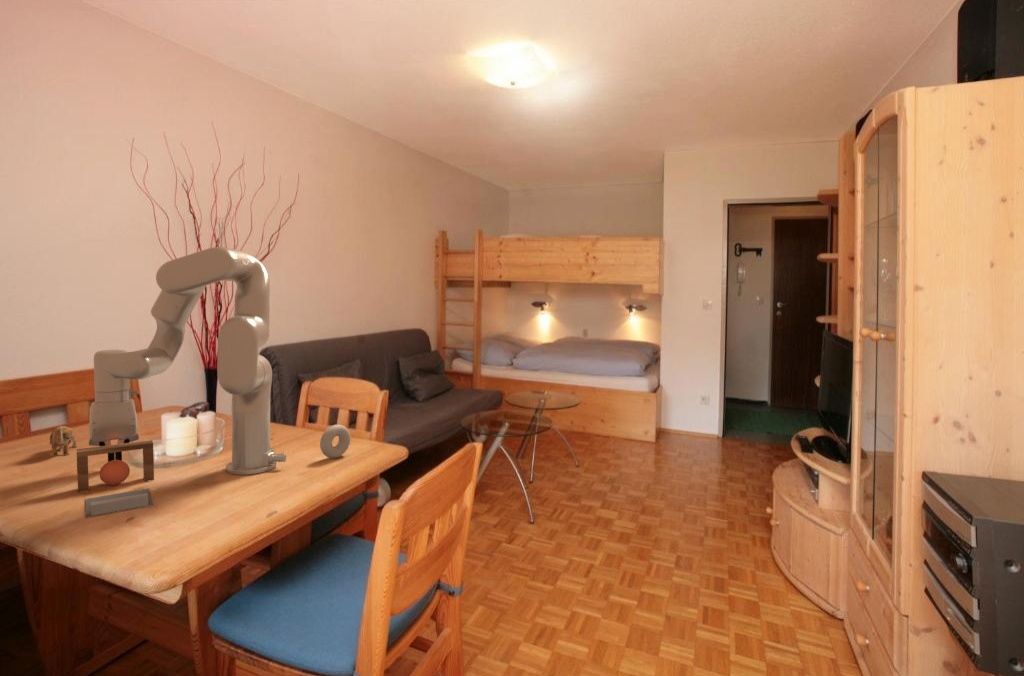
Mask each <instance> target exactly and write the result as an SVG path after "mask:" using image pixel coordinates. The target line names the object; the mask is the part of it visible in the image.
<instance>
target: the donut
mask: <svg viewBox="0 0 1024 676" xmlns="http://www.w3.org/2000/svg"><path fill="white" fill-rule="evenodd" d="M335 437H338V441H337V444H336V445H335V446H333V440H334V439H335ZM319 441H320V443H319V446H320V447H319V448H320V450H321V452H322V454H323V455H324V456H325V457H327V458H330V459H336V457H337V458H339V457H341V456H342V455H344V454H345V453H346V452H347V450H348V449H349V447H350V443H351V434H350V431H349V429H348V428H347V427H346V426H344V425H342V424H333V425H330V426H328V428H326V429H325V430H324V432H323V433H322V435H321V437H320V440H319Z"/></svg>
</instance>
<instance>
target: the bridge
mask: <svg viewBox="0 0 1024 676" xmlns="http://www.w3.org/2000/svg"><path fill="white" fill-rule="evenodd" d="M136 450H142V465H143V466H142V467H143V470H142V472H143V481H144V482H149V481H148V480H151V481H154V480H155V469H154V468H155V467H154V466H155V464H154V463H155V461H154V460H155V459H154V441H153V439H149V440H142V441H132V442H129V443H124V444H111V445H107V446H92V447H84V448H76V474H77V492H78V493H80V492H88V491H90V490H89V489H90V483H89V481H90V480H89V479H90V478H89V457H90V456H98V455H106V454H108V453H114V452H122V453H123V452H129V451H136Z"/></svg>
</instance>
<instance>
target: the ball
mask: <svg viewBox="0 0 1024 676" xmlns="http://www.w3.org/2000/svg"><path fill="white" fill-rule="evenodd" d="M130 470H131V469H130V466H129V464H128V463H127V462H126V461H124V460H122V461H121V460H112V461H109V462H108V461H107V462H106V463H105V464H103V466H101V468H100V470H99V478H100V480H101V481H102V482H103V483H104V484H106V485H110V486H113V485H114V486H115V485H119V484H122V483H124V481H125V480H126V481H127V479H128V477H129V475H130V473H131V471H130Z"/></svg>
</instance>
